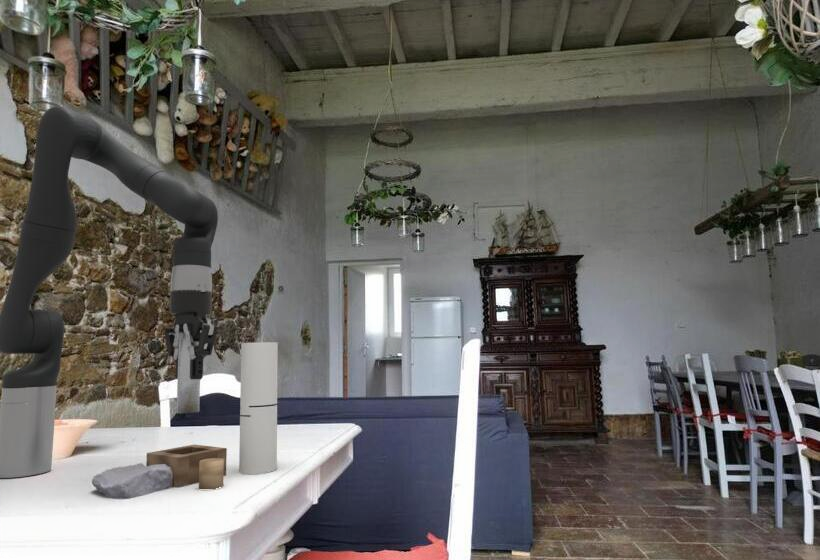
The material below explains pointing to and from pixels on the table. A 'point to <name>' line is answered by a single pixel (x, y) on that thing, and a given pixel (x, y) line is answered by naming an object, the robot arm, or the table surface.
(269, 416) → the cylindrical container
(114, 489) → the stone block
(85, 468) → the table surface
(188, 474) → the collar
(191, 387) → the steel pin
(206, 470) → the oak stub
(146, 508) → the table surface
